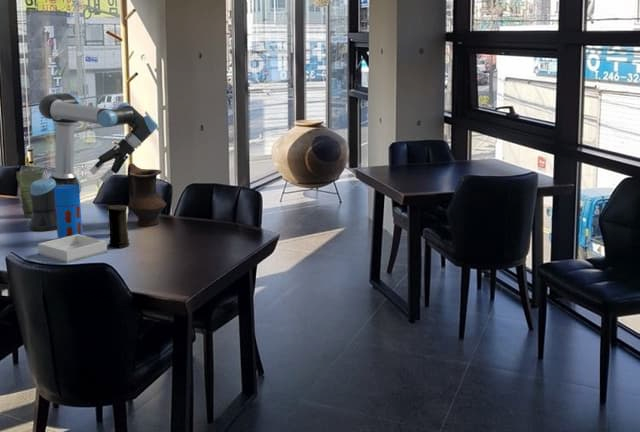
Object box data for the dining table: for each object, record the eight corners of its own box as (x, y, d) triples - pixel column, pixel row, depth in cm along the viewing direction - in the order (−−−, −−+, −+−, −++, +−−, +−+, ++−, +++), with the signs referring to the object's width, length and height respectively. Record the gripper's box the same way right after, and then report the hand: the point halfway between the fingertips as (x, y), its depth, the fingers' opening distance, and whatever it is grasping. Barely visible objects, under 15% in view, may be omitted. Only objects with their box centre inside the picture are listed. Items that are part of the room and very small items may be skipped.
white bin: (39, 254, 318) (38, 243, 317) (78, 244, 333) (77, 234, 332) (67, 263, 306) (66, 251, 305) (106, 252, 322) (106, 241, 321)
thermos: (87, 238, 345) (83, 185, 339) (73, 243, 335) (68, 189, 329) (68, 236, 348) (64, 183, 342) (53, 241, 338) (48, 188, 333)
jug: (175, 222, 374) (172, 164, 367) (148, 230, 359) (145, 169, 352) (145, 217, 385) (142, 160, 378) (118, 224, 370) (114, 165, 363)
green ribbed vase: (18, 218, 383) (13, 170, 377) (30, 212, 394) (26, 166, 389) (38, 218, 381) (33, 171, 375) (50, 213, 393) (46, 167, 387)
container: (120, 242, 338) (118, 203, 334) (133, 245, 333) (131, 206, 329) (104, 246, 331) (102, 207, 327) (118, 249, 326) (115, 209, 322)
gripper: (126, 140, 329) (92, 174, 326) (143, 156, 353) (111, 188, 351) (115, 129, 330) (81, 163, 328) (132, 146, 355) (100, 178, 352)
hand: (96, 176), depth 339 cm, fingers open, 13 cm apart
